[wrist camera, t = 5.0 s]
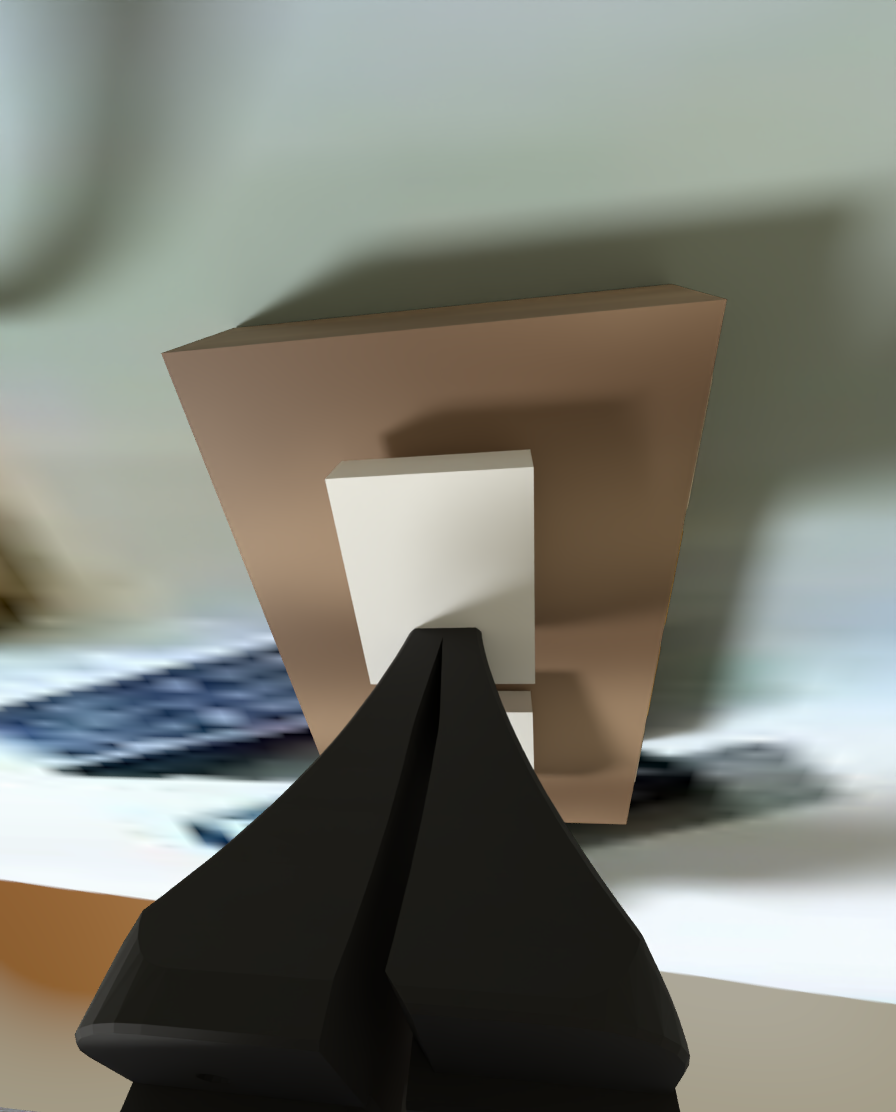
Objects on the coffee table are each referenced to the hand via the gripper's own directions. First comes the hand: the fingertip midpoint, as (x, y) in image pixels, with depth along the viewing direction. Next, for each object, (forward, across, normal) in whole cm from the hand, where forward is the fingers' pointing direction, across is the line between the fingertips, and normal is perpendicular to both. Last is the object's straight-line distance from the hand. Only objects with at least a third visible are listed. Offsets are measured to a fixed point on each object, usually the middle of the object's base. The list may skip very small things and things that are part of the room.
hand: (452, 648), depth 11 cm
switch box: (+4, 0, +2) cm, 4 cm away
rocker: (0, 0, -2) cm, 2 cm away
